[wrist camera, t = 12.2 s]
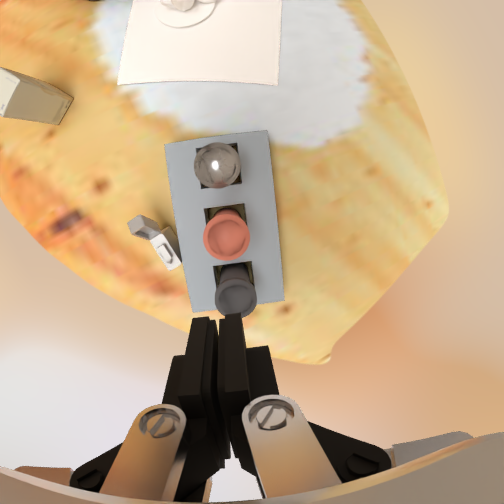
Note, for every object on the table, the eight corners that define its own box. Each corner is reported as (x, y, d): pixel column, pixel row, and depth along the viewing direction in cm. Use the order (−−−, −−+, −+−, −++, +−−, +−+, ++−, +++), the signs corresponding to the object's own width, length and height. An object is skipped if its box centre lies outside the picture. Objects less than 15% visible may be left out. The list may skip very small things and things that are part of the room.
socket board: (263, 134, 34) (267, 130, 30) (279, 287, 39) (284, 300, 35) (171, 146, 33) (164, 144, 29) (196, 298, 39) (192, 312, 35)
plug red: (242, 201, 34) (247, 211, 26) (247, 237, 35) (252, 257, 27) (206, 206, 34) (199, 218, 26) (211, 242, 35) (206, 263, 27)
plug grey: (235, 146, 33) (237, 139, 25) (240, 181, 34) (243, 185, 26) (199, 151, 33) (190, 146, 25) (204, 186, 34) (197, 191, 26)
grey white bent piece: (186, 253, 37) (176, 275, 29) (175, 260, 37) (162, 283, 29) (157, 204, 35) (138, 215, 27) (145, 212, 35) (124, 224, 27)
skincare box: (74, 98, 30) (22, 79, 18) (58, 127, 31) (2, 118, 19) (47, 82, 29) (-4, 63, 17) (32, 109, 29) (-23, 99, 18)
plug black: (249, 254, 36) (254, 277, 29) (253, 285, 38) (259, 315, 30) (214, 258, 36) (211, 283, 29) (219, 290, 37) (218, 321, 30)
